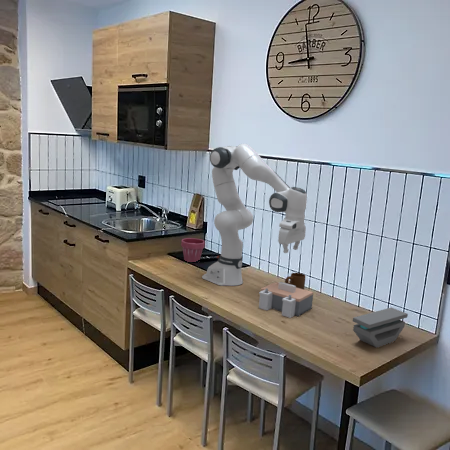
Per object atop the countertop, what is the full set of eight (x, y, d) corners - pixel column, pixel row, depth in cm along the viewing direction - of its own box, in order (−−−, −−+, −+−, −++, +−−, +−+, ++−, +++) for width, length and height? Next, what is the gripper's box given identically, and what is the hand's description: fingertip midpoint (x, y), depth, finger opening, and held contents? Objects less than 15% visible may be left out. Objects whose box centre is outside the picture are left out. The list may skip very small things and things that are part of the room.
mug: (289, 296, 239) (290, 278, 238) (279, 291, 246) (281, 274, 244) (306, 293, 246) (308, 276, 244) (297, 289, 252) (298, 271, 250)
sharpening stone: (365, 351, 183) (369, 324, 181) (349, 343, 189) (353, 317, 187) (404, 338, 198) (407, 313, 196) (387, 331, 204) (391, 307, 202)
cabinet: (255, 307, 222) (257, 287, 220) (274, 297, 236) (276, 279, 234) (293, 319, 210) (296, 298, 209) (311, 308, 225) (313, 289, 223)
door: (255, 292, 220) (256, 284, 219) (275, 284, 235) (276, 276, 234) (294, 304, 208) (295, 295, 208) (313, 294, 223) (314, 286, 222)
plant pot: (205, 264, 286) (207, 243, 284) (182, 264, 282) (184, 243, 280) (200, 257, 299) (201, 237, 297) (178, 258, 295) (179, 237, 293)
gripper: (298, 218, 233) (295, 246, 236) (277, 223, 217) (274, 253, 219) (310, 221, 229) (306, 249, 232) (289, 226, 213) (286, 256, 216)
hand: (290, 251), depth 226 cm, fingers open, 8 cm apart
